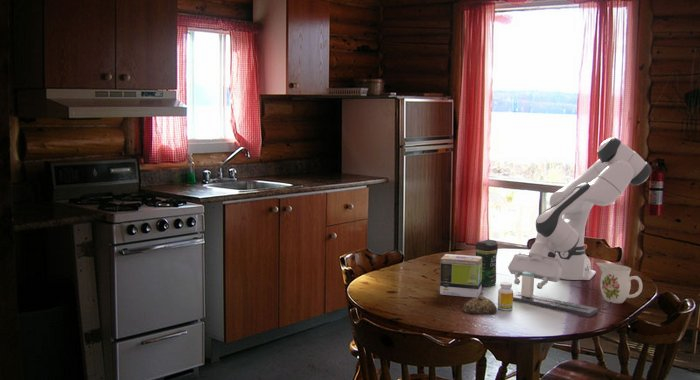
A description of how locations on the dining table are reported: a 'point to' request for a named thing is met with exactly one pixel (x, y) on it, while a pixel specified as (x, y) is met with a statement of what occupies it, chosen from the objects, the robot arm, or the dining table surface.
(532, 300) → the fader track
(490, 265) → the coffee jar
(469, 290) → the tea box
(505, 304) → the supplement bottle
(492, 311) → the bread roll
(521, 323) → the dining table surface
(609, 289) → the pitcher
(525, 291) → the fader knob
